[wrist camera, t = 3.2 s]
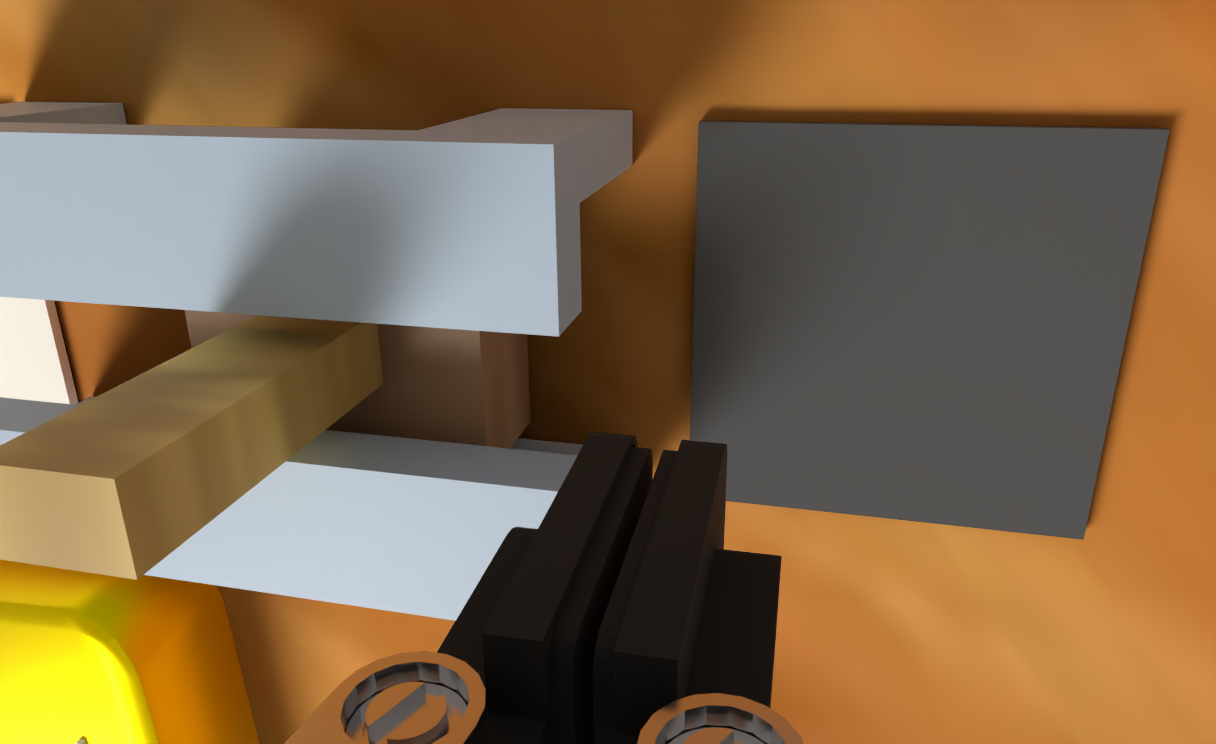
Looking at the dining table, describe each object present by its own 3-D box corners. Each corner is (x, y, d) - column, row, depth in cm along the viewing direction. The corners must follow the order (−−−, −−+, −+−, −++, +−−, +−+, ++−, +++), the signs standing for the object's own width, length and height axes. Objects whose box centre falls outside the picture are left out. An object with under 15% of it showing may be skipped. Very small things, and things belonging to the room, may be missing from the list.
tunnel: (632, 109, 20) (553, 144, 14) (631, 491, 23) (567, 636, 18) (22, 101, 23) (-227, 126, 18) (99, 433, 27) (-90, 540, 21)
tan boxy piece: (520, 196, 21) (241, 351, 11) (530, 421, 23) (301, 718, 13) (248, 186, 22) (-206, 315, 13) (280, 397, 24) (-90, 648, 15)
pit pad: (1164, 128, 17) (1169, 129, 17) (1080, 532, 21) (1083, 539, 20) (700, 120, 19) (699, 121, 19) (690, 491, 23) (688, 496, 22)
